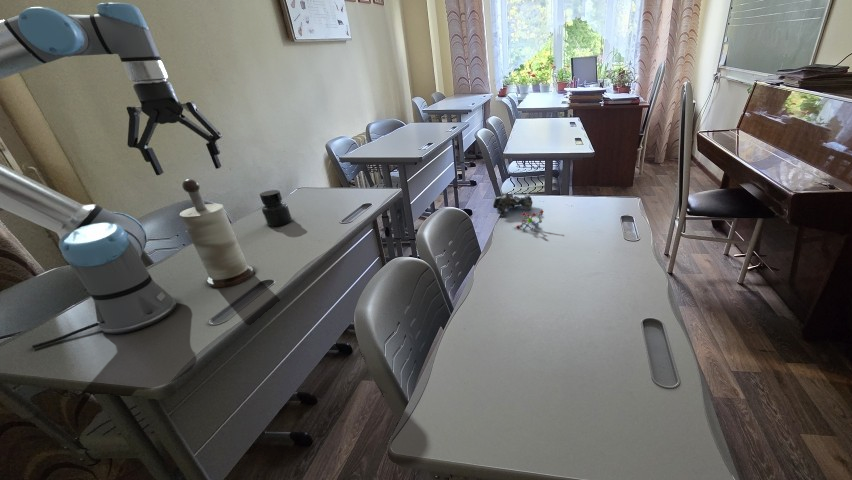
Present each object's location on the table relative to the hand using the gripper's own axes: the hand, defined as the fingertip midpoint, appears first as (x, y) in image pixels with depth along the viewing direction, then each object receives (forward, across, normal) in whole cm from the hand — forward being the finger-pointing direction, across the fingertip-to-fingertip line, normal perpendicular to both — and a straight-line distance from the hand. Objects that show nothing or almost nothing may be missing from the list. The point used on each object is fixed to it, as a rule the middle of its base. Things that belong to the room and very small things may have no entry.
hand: (190, 170), depth 106 cm
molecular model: (+30, -94, +8) cm, 99 cm away
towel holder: (+16, 0, -2) cm, 16 cm away
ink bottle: (+31, -8, -39) cm, 50 cm away
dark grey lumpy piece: (+30, -95, -10) cm, 100 cm away
